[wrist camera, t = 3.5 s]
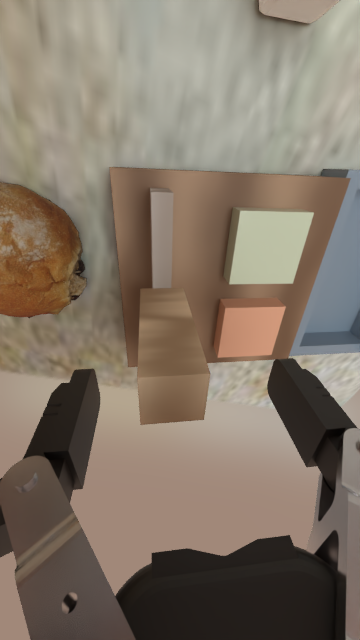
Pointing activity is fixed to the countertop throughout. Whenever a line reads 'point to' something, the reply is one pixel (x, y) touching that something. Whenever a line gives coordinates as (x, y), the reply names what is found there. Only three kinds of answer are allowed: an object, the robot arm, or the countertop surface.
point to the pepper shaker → (296, 9)
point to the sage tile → (265, 245)
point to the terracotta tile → (247, 326)
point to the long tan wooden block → (168, 334)
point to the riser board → (216, 243)
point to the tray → (336, 283)
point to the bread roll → (37, 255)
